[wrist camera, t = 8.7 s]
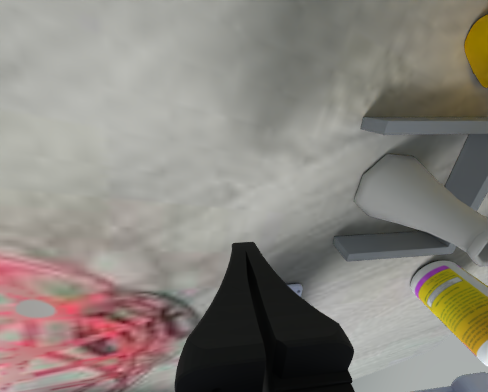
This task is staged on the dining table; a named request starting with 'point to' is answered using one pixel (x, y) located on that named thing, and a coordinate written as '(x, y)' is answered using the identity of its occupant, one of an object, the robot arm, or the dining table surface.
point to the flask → (422, 204)
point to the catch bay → (459, 184)
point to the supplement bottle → (456, 303)
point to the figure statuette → (478, 50)
